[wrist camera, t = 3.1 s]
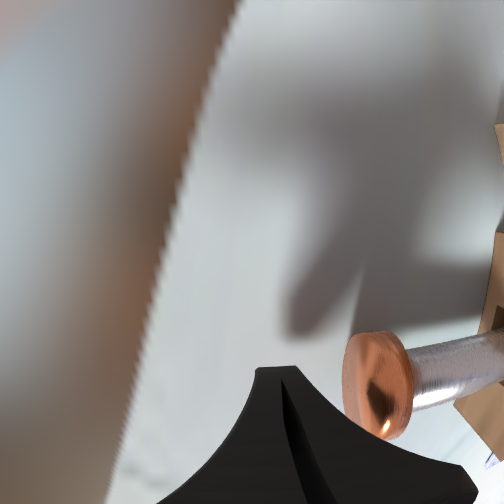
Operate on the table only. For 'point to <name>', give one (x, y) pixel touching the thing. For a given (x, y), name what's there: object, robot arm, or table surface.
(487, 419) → the block
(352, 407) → the pin
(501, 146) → the block
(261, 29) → the table surface
